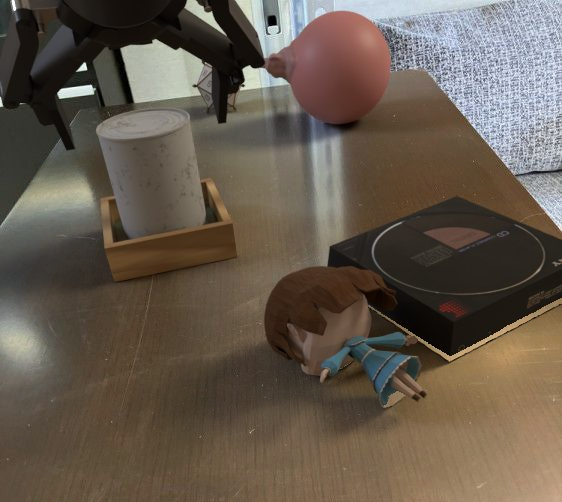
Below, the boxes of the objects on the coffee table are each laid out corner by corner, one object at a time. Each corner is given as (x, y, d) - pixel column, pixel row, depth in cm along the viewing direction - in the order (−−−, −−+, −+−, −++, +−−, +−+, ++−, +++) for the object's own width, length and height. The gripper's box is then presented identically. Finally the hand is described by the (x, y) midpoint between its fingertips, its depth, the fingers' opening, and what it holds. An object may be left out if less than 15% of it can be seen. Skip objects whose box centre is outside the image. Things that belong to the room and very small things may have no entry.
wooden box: (109, 229, 76) (100, 198, 73) (216, 208, 78) (211, 177, 75) (114, 282, 66) (104, 248, 63) (237, 256, 68) (232, 223, 65)
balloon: (269, 111, 107) (259, 8, 97) (387, 103, 104) (389, -3, 94) (258, 143, 95) (246, 30, 85) (391, 135, 92) (394, 17, 83)
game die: (214, 131, 112) (180, 82, 110) (252, 104, 113) (219, 54, 111) (219, 118, 104) (182, 64, 102) (259, 89, 104) (224, 35, 102)
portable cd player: (449, 228, 68) (452, 194, 66) (584, 292, 57) (594, 253, 54) (327, 279, 62) (325, 243, 60) (449, 362, 51) (453, 322, 48)
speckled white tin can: (180, 207, 76) (159, 102, 68) (225, 230, 70) (207, 118, 62) (111, 235, 72) (79, 126, 64) (153, 262, 66) (124, 146, 58)
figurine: (444, 414, 51) (319, 316, 58) (494, 320, 45) (349, 224, 53) (353, 466, 44) (224, 347, 51) (399, 362, 38) (246, 244, 45)
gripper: (-116, 18, 33) (10, 187, 54) (336, -45, 36) (288, 137, 57) (-142, -111, 33) (-8, 106, 54) (304, -160, 37) (269, 61, 58)
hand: (144, 122), depth 56 cm, fingers open, 13 cm apart
